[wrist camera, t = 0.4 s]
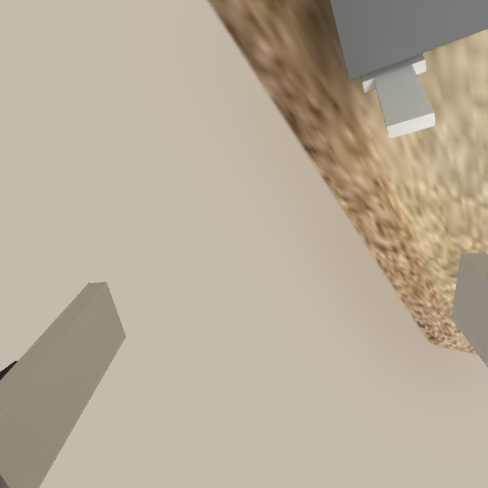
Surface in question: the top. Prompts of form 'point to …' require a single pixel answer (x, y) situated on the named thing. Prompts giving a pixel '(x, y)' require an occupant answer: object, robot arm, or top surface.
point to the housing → (401, 29)
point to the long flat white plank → (401, 96)
